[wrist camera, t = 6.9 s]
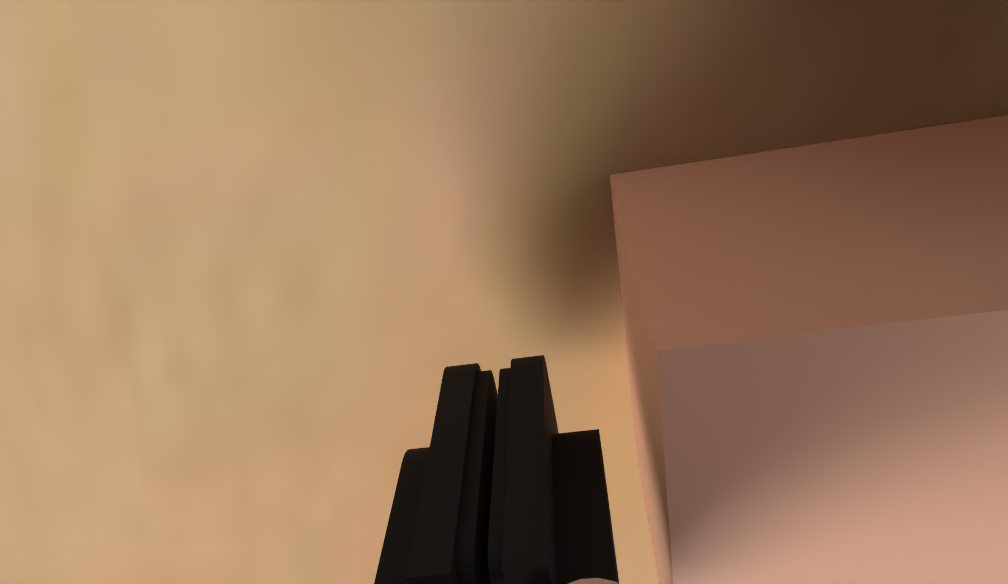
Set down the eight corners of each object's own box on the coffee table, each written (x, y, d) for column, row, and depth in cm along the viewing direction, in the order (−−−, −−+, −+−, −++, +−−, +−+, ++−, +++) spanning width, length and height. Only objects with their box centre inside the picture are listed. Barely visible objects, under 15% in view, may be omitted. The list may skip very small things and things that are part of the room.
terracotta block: (1060, 107, 10) (1437, 260, 6) (975, 436, 14) (1174, 680, 9) (609, 174, 11) (656, 350, 7) (638, 468, 15) (681, 706, 10)
